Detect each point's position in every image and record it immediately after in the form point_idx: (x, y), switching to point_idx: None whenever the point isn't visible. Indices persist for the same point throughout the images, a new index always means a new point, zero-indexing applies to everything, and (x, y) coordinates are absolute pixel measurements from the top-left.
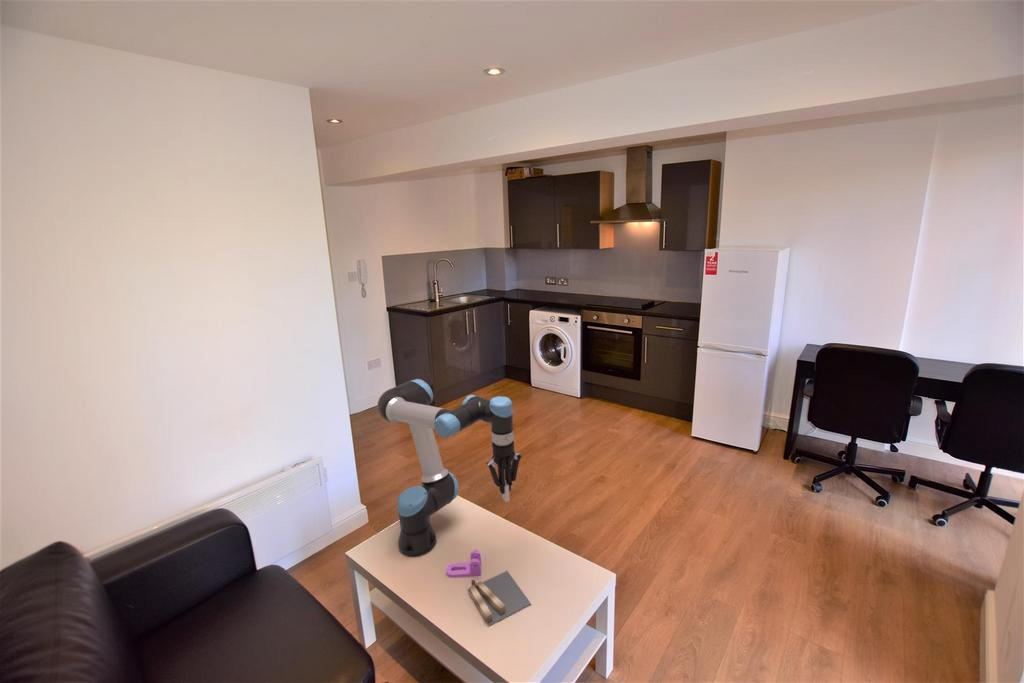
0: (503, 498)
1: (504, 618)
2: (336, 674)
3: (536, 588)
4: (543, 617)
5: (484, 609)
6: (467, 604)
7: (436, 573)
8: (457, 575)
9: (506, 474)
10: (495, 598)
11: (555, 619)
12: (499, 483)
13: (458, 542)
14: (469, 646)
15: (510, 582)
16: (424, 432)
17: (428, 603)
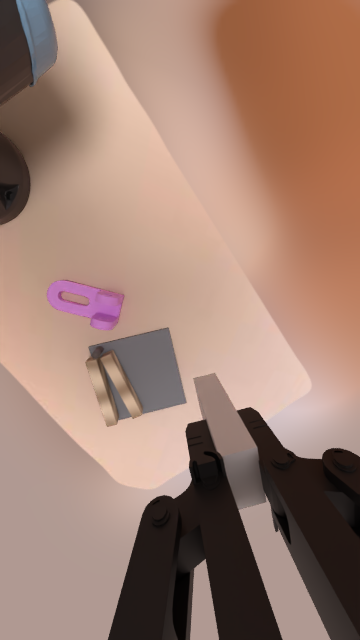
0: (197, 394)
1: None
2: None
3: (204, 375)
4: None
5: (106, 413)
6: (84, 374)
7: (29, 288)
8: (71, 312)
9: (331, 617)
10: (129, 397)
11: None
12: (186, 593)
13: (84, 211)
14: (78, 441)
15: (166, 355)
16: None
17: (13, 354)
